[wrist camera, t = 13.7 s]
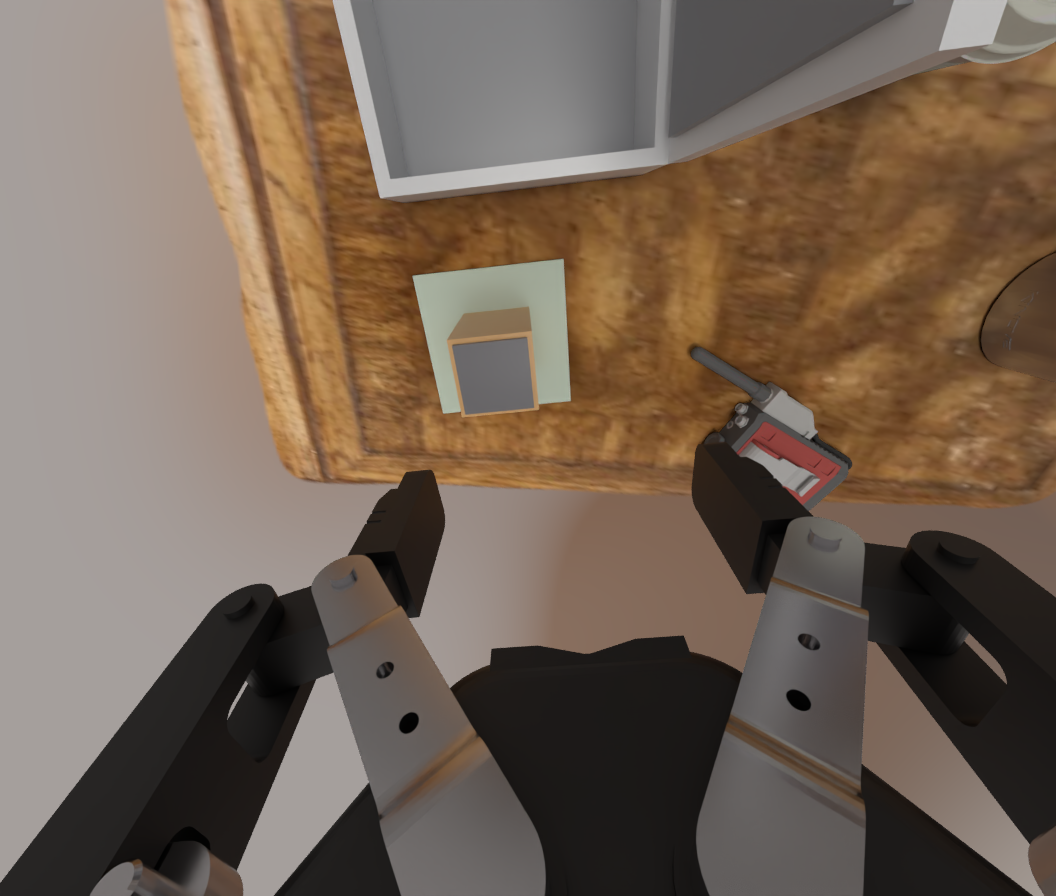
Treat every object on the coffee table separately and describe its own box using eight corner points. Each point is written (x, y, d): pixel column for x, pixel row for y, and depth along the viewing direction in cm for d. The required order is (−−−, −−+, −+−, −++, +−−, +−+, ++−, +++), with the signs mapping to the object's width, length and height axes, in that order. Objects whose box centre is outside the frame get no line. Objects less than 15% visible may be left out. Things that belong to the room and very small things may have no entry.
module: (529, 306, 30) (531, 332, 23) (535, 370, 32) (539, 411, 25) (463, 313, 30) (445, 341, 23) (474, 376, 33) (461, 419, 25)
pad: (562, 258, 29) (563, 259, 28) (570, 399, 34) (570, 400, 34) (413, 275, 29) (412, 275, 29) (444, 411, 35) (443, 413, 34)
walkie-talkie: (859, 439, 37) (695, 334, 32) (898, 463, 33) (719, 349, 28) (788, 505, 41) (630, 420, 36) (815, 534, 37) (643, 443, 32)
